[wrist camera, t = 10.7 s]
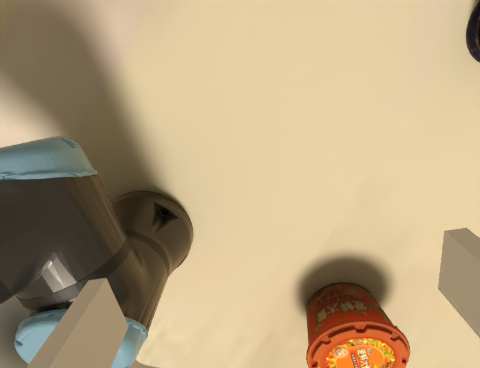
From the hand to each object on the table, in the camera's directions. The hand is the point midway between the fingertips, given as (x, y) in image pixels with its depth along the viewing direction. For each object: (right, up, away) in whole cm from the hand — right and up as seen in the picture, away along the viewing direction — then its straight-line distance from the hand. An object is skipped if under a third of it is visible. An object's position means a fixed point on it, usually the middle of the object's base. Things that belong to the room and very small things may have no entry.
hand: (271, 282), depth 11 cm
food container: (+18, -20, +43) cm, 51 cm away
